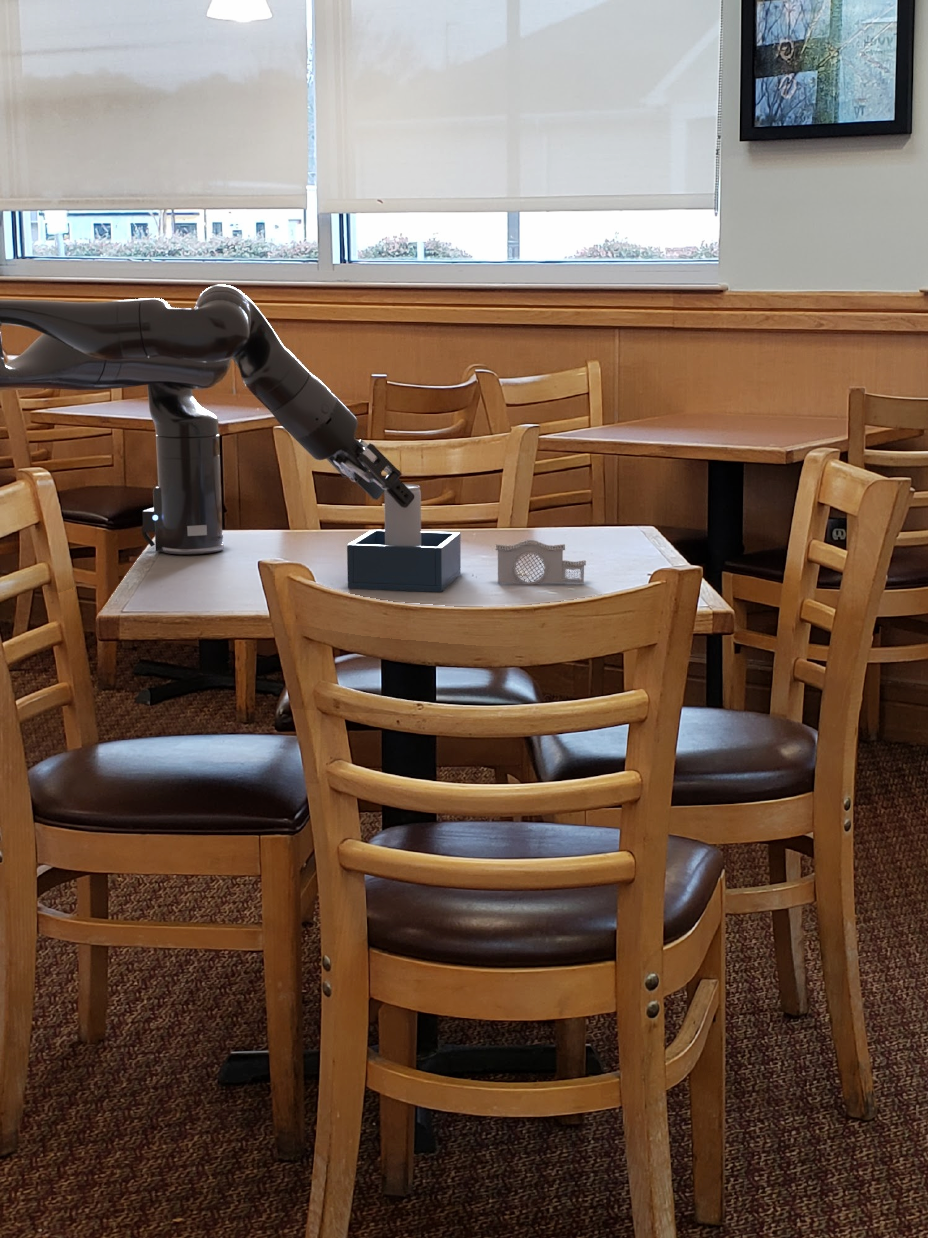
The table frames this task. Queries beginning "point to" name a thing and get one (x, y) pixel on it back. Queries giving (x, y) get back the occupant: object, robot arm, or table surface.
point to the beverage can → (403, 520)
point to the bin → (404, 562)
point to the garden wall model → (547, 553)
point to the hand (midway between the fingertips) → (394, 498)
